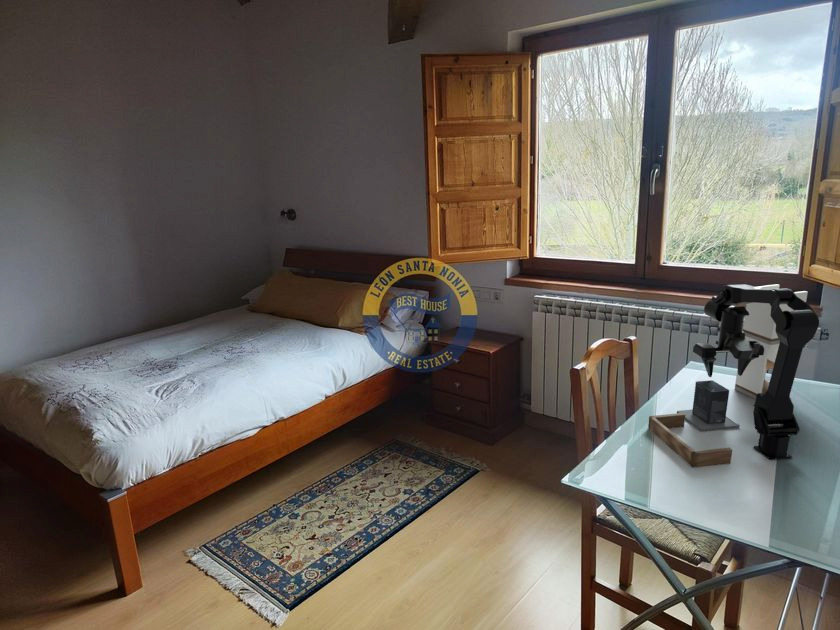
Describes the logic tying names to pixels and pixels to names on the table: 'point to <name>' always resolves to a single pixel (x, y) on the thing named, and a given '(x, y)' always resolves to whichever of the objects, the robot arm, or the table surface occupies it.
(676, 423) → the frame
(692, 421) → the slate mat
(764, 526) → the table surface
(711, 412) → the box
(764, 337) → the display case
